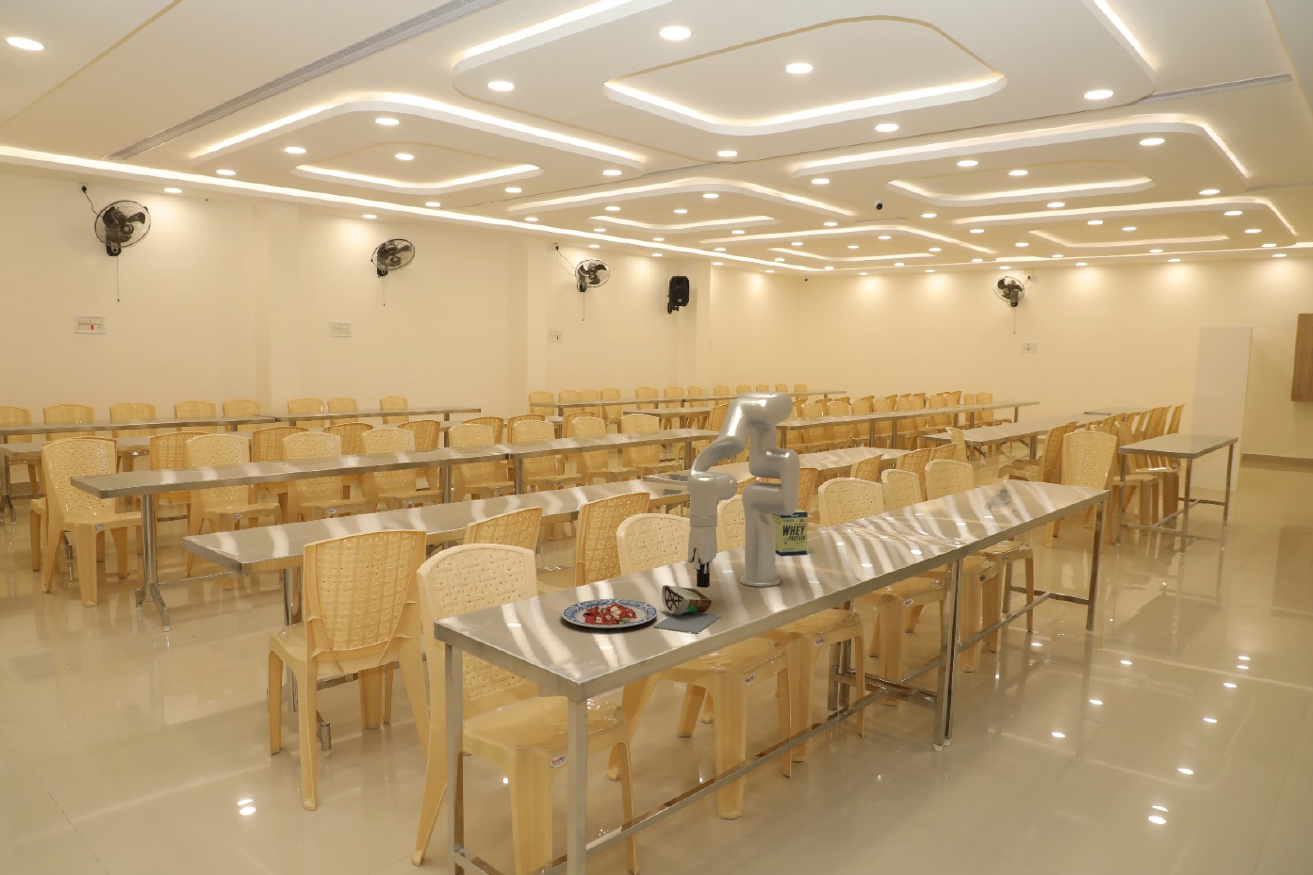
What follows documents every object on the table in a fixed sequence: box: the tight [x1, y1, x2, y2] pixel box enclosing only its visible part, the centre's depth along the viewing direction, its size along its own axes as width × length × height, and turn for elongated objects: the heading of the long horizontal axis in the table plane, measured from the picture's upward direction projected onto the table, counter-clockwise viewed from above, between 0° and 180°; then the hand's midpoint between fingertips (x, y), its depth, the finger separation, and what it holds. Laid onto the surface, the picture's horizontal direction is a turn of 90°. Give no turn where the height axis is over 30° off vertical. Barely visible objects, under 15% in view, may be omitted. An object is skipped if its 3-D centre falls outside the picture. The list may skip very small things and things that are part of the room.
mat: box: [653, 612, 721, 634], centre depth 227 cm, size 16×12×1 cm
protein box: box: [770, 507, 808, 557], centre depth 312 cm, size 10×16×16 cm
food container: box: [661, 584, 713, 616], centre depth 234 cm, size 12×6×10 cm
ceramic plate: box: [561, 598, 659, 630], centre depth 230 cm, size 26×26×3 cm
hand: (703, 586), depth 235 cm, fingers closed
